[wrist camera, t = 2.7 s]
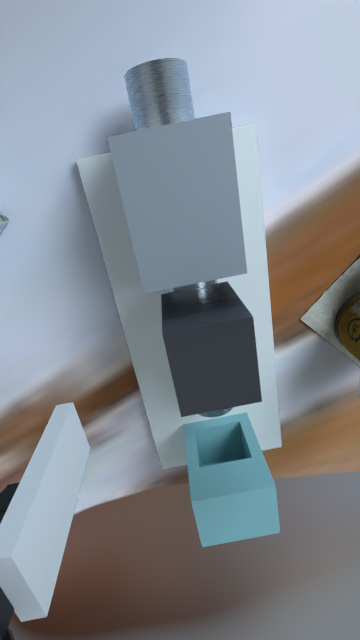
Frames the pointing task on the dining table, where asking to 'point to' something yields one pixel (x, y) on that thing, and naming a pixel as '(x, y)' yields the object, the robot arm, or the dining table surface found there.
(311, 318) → the condiment
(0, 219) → the syrup box
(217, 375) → the tube
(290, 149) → the dining table surface
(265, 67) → the dining table surface
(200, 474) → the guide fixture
